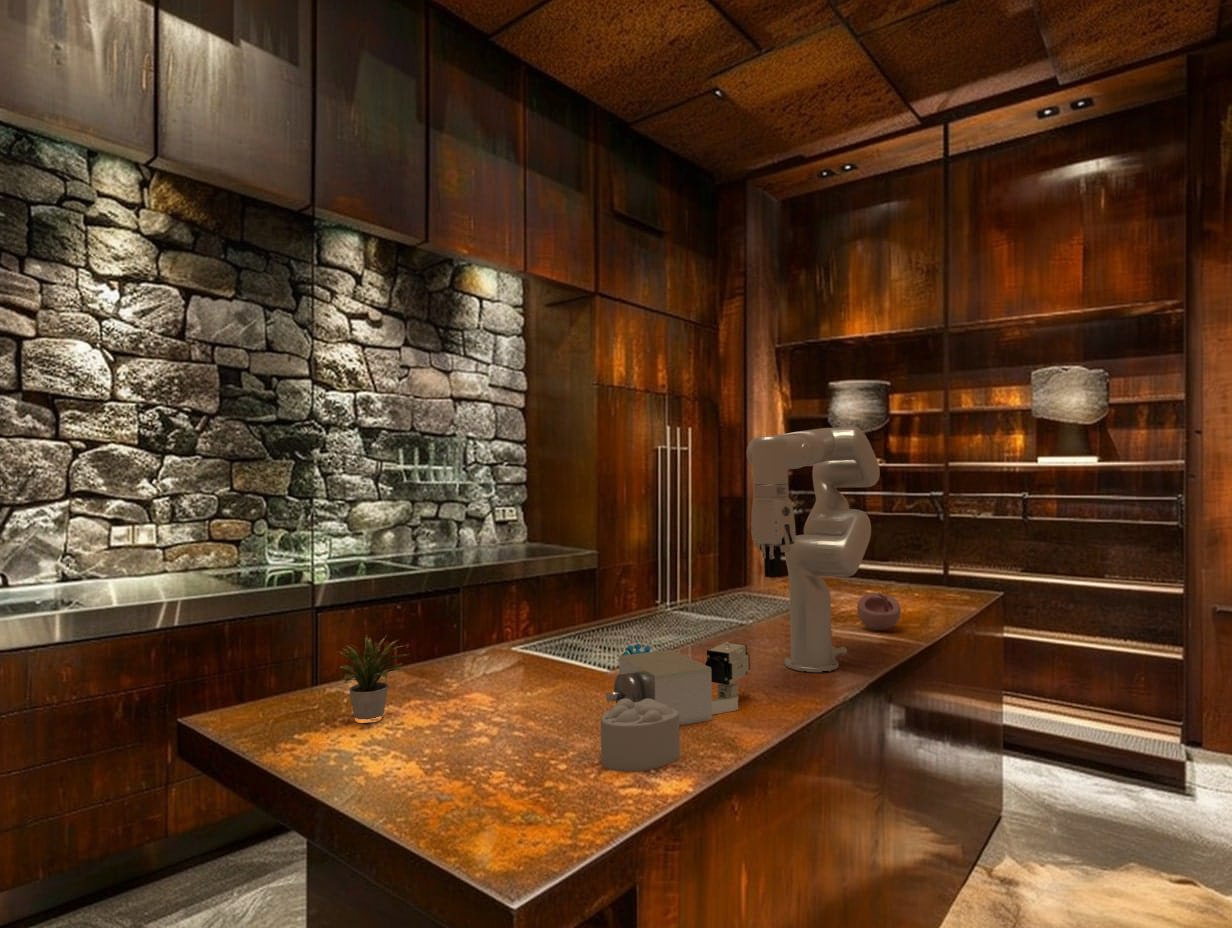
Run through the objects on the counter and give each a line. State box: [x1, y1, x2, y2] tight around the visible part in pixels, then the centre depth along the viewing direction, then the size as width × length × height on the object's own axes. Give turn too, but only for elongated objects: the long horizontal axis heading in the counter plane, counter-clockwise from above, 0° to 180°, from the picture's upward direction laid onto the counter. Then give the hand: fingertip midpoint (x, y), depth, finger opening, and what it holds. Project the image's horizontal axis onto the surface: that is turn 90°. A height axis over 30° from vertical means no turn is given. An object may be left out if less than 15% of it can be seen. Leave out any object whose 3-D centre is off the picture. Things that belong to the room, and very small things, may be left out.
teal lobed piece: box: [621, 643, 652, 656], centre depth 162 cm, size 11×6×10 cm
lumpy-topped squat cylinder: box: [600, 698, 681, 773], centre depth 116 cm, size 10×13×9 cm
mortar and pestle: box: [857, 592, 901, 632], centre depth 209 cm, size 12×12×12 cm
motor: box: [605, 649, 739, 727], centre depth 138 cm, size 26×16×10 cm, turn 114°
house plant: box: [335, 633, 411, 719], centre depth 135 cm, size 14×14×16 cm
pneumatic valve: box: [704, 641, 751, 700], centre depth 144 cm, size 6×12×12 cm, turn 145°
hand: (772, 576), depth 154 cm, fingers closed
